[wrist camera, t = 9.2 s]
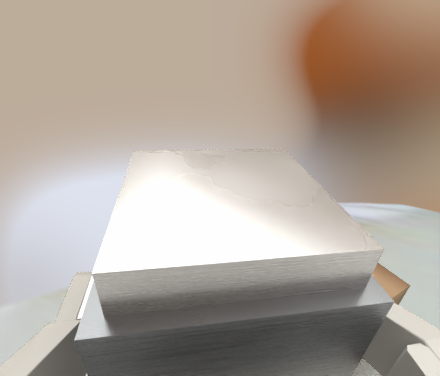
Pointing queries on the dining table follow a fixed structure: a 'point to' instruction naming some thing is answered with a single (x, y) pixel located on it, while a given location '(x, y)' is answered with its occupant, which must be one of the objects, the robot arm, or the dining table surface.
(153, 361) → the block
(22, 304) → the dining table surface
